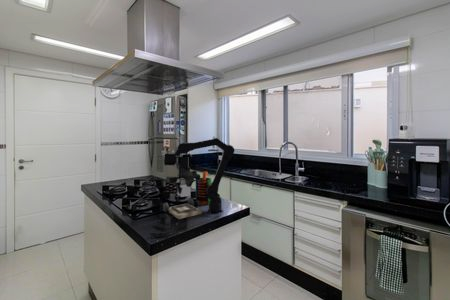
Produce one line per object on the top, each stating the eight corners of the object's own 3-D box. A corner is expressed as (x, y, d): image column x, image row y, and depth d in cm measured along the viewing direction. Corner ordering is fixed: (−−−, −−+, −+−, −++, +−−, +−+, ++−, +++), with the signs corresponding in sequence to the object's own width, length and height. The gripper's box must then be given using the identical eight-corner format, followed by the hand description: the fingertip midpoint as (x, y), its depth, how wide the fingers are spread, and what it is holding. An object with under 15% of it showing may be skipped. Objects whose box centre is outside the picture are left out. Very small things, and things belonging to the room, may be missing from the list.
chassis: (190, 205, 141) (190, 197, 141) (204, 212, 127) (204, 204, 127) (163, 210, 131) (162, 202, 131) (175, 219, 117) (175, 210, 117)
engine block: (185, 193, 131) (185, 184, 131) (190, 195, 127) (190, 186, 126) (177, 194, 128) (177, 185, 128) (182, 196, 124) (182, 187, 123)
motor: (194, 204, 143) (193, 173, 141) (198, 200, 151) (198, 170, 150) (209, 205, 140) (209, 173, 139) (213, 201, 149) (213, 171, 148)
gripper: (174, 168, 114) (174, 199, 115) (205, 165, 126) (205, 193, 127) (165, 166, 123) (165, 194, 124) (195, 163, 134) (195, 189, 135)
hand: (183, 193), depth 127 cm, fingers closed on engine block, 5 cm apart
